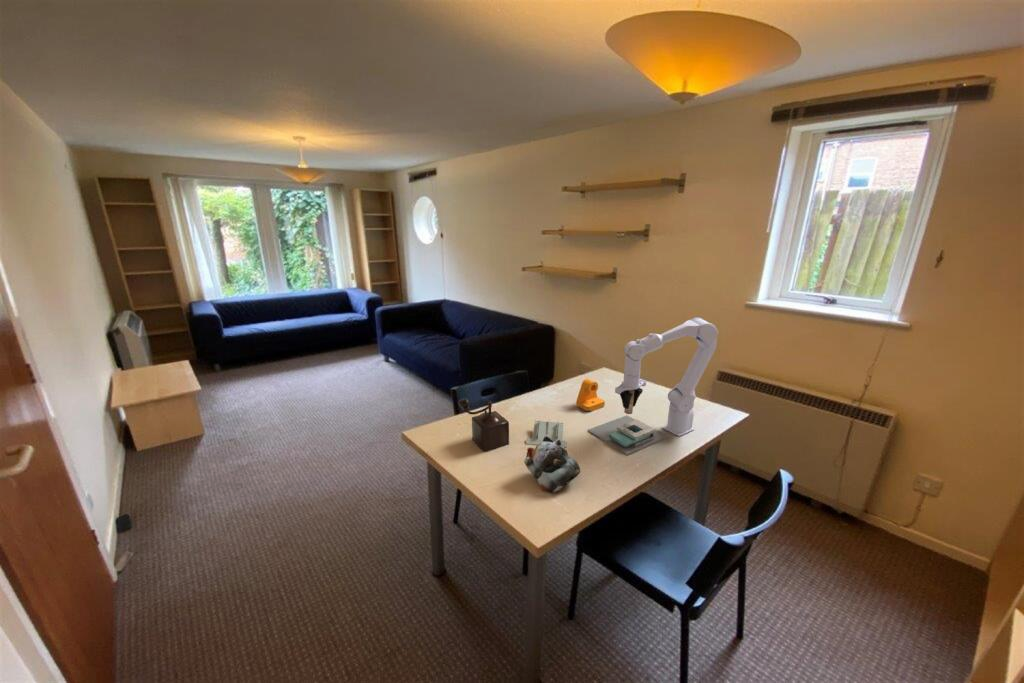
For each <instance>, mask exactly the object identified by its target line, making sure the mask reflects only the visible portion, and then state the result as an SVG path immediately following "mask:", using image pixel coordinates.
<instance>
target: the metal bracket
mask: <svg viewBox="0 0 1024 683" xmlns="http://www.w3.org/2000/svg"><path fill="white" fill-rule="evenodd" d="M563 430H564V422H559V421H557V422H556V421H555V422H554V421H550V418H549V419H548V421H544V420H540V419H538V420H534V425H533V431H532V436H531V437H527V438H526V441H525V445H527V446H535V447H536V446H537V445H539V444H540V443H541V442H542V441H543V439H544V437H546V436H547V437H549V438H550V439H551V440H552V441H555V440H556V439H559V440H560V441H561V444H562V445H563V446H564V448H565V449H568V441H566V440H565V441H564V440H563V436H564V435H563V434H564V431H563Z"/></svg>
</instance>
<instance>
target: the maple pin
mask: <svg viewBox="0 0 1024 683" xmlns="http://www.w3.org/2000/svg"><path fill="white" fill-rule="evenodd" d="M629 391H630V393H632V394H633V395H632V397H631V399H630V404H629V408H628V409H626V408H623V409H624V410H623V412H624V414H626V415H632V414H633V412H634V411H633V409H634V407H633V401H634V390H629Z"/></svg>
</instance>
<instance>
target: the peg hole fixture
mask: <svg viewBox="0 0 1024 683" xmlns="http://www.w3.org/2000/svg"><path fill="white" fill-rule="evenodd" d="M617 430H618V431H616V432H613V433H611V434H609V438H611V439H613V440H614V441H616V442H618V443H620V444H621V445H623V446H625V447H627V446H629V445H632V446H633V447H637V446H639V445H642V444H644V443H646V442H649V441H651V440H653V439H655V431H656V428H654V427H653V426H650V425H648V424H646V423H644V422H643V421H640V420H639V419H635V420H633V421H631V422H628V423H626V424H623V425H620V426H618V427H617Z"/></svg>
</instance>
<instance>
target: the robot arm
mask: <svg viewBox="0 0 1024 683" xmlns="http://www.w3.org/2000/svg"><path fill="white" fill-rule="evenodd" d="M718 335H719V331H718V329H717V327H716V326H715V324H714V323H710V322H708V321H707V320H704V319H703V318H701V317H694V318H692V319H688V320H686V321H685V322H683V323H682V324H680V325H678V326H676V327H674V328H671V329H669V330H667V331H665V332H663V333H661V334H658V333H652V332H651V333H648V335H647V336H645V337H643V338H640V339H639V338H637V339H636V341H635V340H631V341H628V342H627V343H626V344H625V346H624V347H623V351H624V353H625V359H624V370H623V380H622V381H621V384H619V386H617V387H615V388H614V393H616V394H618V395H619V396H620V399H621V402H622V407H623V409H625V408H626V409H628V408H629V404H630V399H631V397H632V395H633V394H632V393H630V391H629V390H634V401H633V408H635V407H636V404H637V401H638V399H639V398H640V396H641V395H642V393H643V392H644V391H643V390H644V389H643V388H641V387H646V386H647V381H646V380H644V379H640V378H641V368H642V367H641V366H642V359H643V358H644V357H645V355H647V354H650V353H652V352H654V351H657V350H660V349H661V348H663V346H664V344H666V343H668V342H671V341H675V340H678V339H681V338H683V337H690V338H695V340H696V342H697V344H698V347H697V349H696V351H695V353H694V355H693V357H692V359H691V361H690V362H689V365H688V367H687V368H686V371H685V373H684V374H683V376H682V379H681V380H680V382H678V383H676V384H675V385H674V387H673V388H672V389H670V390H669V392H668V393H667V399H668V401H669V406H668V412H667V421H666V422H667V424H664V425H663V426H661V428H662V429H663V430H665V431H667V432H670V433H671V434H674V435H675V436H677V437H681V436H683V435H686V434H688V433H689V432H692V431H694V430H695V428H694V427H693V423H694V416H695V414H694V410H693V408H694V405H695V399H696V393H695V392H696V391H695V389H696V387H697V386H698V384H699V382H700V379H701V378H702V376H703V374H704V373H705V371H706V369H707V367H708V364H709V363H710V361H711V360H712V357H713V355H714V353H715V351H716V349H717V345H718V344H717V343H718Z"/></svg>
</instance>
